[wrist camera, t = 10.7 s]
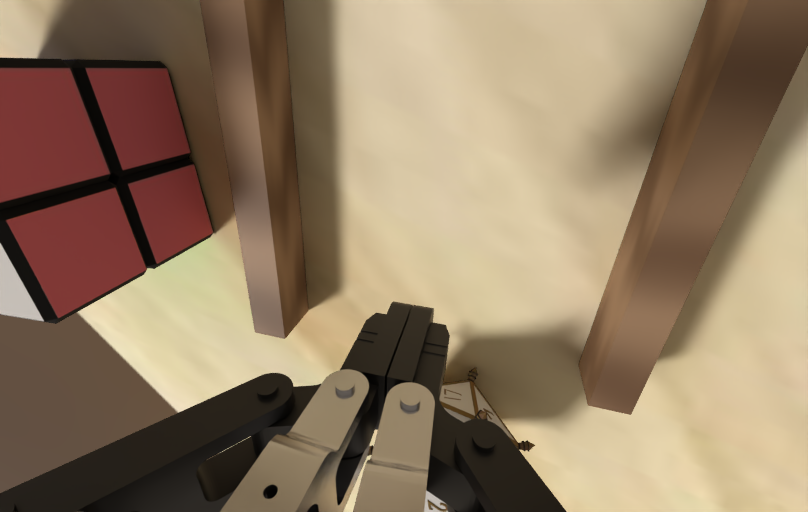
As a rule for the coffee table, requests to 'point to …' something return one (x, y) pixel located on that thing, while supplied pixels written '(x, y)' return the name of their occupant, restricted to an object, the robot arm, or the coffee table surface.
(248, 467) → the robot arm
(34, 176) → the puzzle cube
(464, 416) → the game die
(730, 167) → the chute
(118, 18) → the coffee table surface
